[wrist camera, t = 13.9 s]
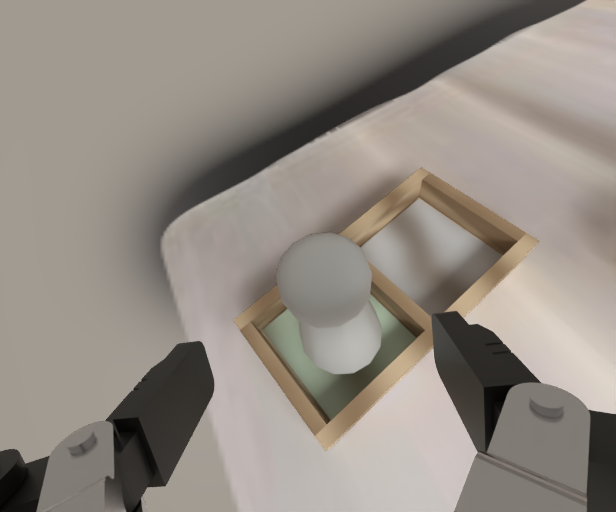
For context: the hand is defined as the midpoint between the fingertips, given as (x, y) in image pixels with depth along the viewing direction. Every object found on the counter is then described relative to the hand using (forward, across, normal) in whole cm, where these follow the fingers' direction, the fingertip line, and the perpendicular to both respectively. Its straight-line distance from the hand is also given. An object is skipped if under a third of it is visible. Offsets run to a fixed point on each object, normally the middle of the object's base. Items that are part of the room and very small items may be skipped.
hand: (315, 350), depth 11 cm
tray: (+15, -4, +6) cm, 17 cm away
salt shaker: (+12, 0, +7) cm, 14 cm away
